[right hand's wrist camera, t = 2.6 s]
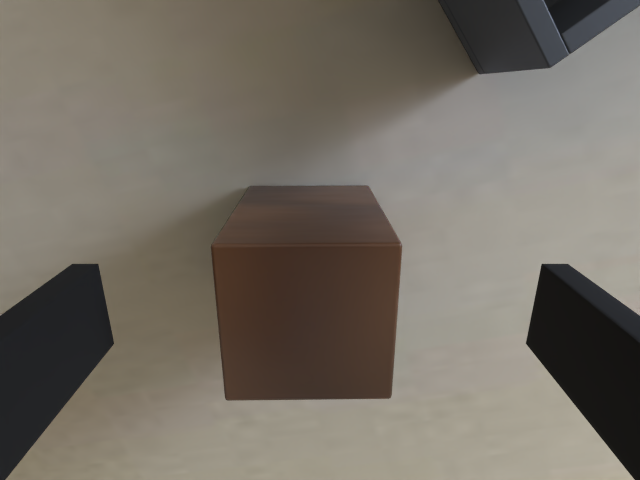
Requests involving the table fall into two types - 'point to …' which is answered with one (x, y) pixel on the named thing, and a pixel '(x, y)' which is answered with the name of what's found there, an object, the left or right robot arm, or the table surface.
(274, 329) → the walnut block
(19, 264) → the table surface
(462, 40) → the grey box
